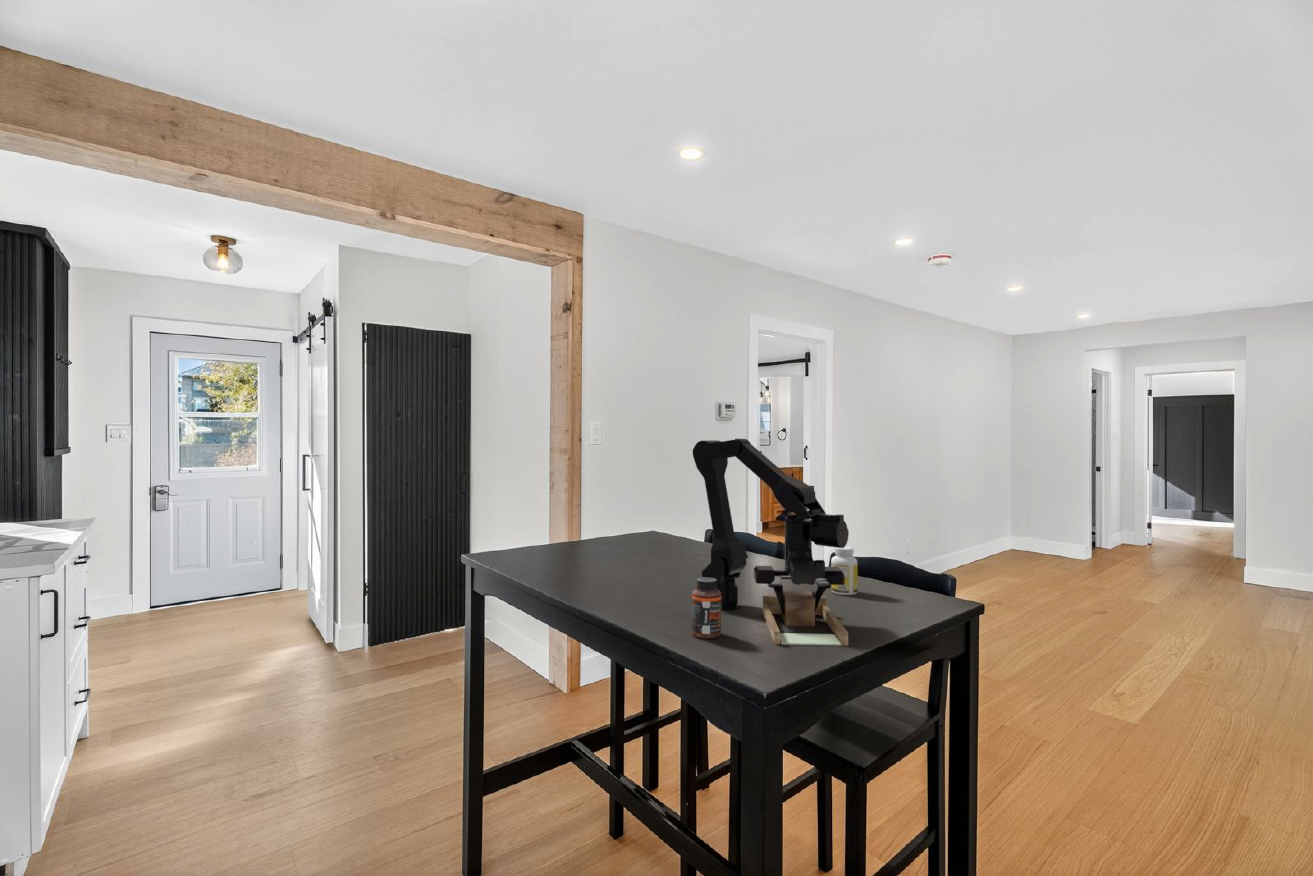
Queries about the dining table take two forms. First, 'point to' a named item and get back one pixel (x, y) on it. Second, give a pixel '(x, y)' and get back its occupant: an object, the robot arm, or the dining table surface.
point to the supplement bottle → (706, 609)
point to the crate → (799, 608)
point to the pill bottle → (845, 571)
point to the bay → (822, 610)
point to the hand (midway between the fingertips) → (798, 614)
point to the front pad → (808, 639)
